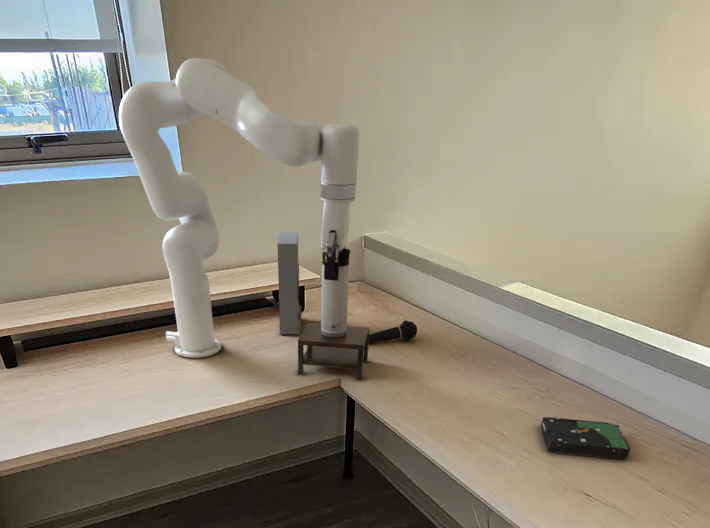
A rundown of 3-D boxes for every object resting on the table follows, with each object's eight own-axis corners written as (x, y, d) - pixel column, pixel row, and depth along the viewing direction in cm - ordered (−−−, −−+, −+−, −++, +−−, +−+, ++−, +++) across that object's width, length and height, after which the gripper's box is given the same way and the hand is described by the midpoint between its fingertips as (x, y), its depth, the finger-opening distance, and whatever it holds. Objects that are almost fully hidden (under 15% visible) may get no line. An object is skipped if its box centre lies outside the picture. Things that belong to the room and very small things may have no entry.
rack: (298, 374, 140) (297, 340, 134) (308, 355, 149) (308, 322, 144) (361, 380, 137) (363, 345, 132) (367, 360, 146) (369, 327, 141)
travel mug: (338, 340, 134) (341, 253, 122) (316, 334, 137) (316, 249, 126) (352, 332, 138) (356, 247, 126) (330, 326, 141) (332, 243, 130)
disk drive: (546, 454, 110) (627, 461, 107) (550, 441, 108) (632, 448, 106) (539, 427, 118) (614, 433, 116) (542, 416, 117) (618, 421, 114)
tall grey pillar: (300, 335, 161) (300, 243, 146) (279, 335, 161) (277, 243, 147) (301, 318, 172) (300, 232, 158) (281, 318, 172) (279, 232, 158)
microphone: (350, 357, 155) (418, 343, 157) (351, 341, 151) (421, 326, 152) (345, 345, 158) (411, 330, 160) (345, 328, 154) (414, 314, 156)
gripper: (328, 185, 127) (325, 263, 137) (313, 198, 113) (311, 283, 123) (361, 186, 126) (355, 265, 136) (349, 200, 112) (345, 286, 122)
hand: (334, 273), depth 130 cm, fingers open, 9 cm apart
